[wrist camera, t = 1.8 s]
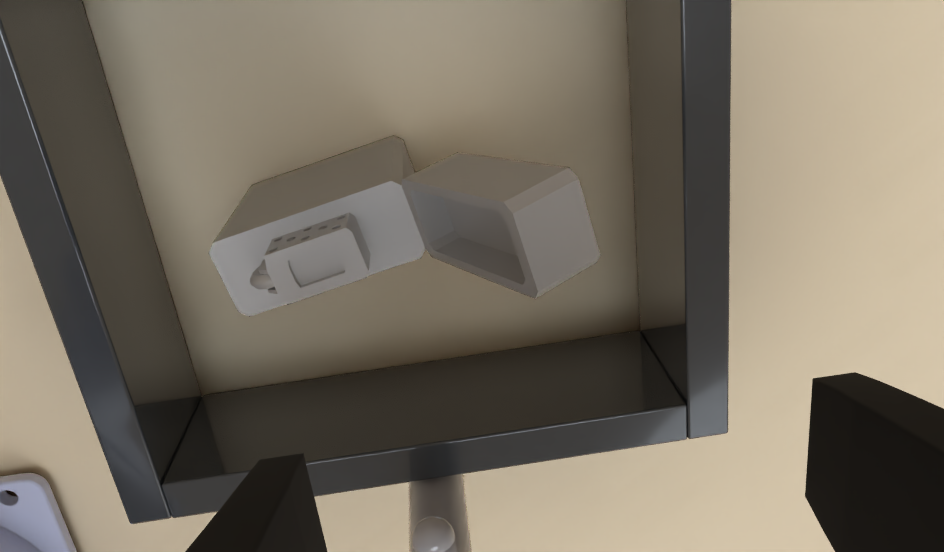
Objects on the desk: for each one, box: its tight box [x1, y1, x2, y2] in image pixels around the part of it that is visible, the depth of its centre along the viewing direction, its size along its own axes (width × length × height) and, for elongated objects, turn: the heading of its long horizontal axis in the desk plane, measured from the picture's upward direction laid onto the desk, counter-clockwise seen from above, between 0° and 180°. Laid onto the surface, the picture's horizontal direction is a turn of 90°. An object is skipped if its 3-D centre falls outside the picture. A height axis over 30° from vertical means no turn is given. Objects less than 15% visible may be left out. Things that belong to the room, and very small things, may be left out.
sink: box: [0, 0, 731, 552], centre depth 17 cm, size 14×15×7 cm
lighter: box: [209, 135, 601, 316], centre depth 16 cm, size 7×2×8 cm, turn 108°
